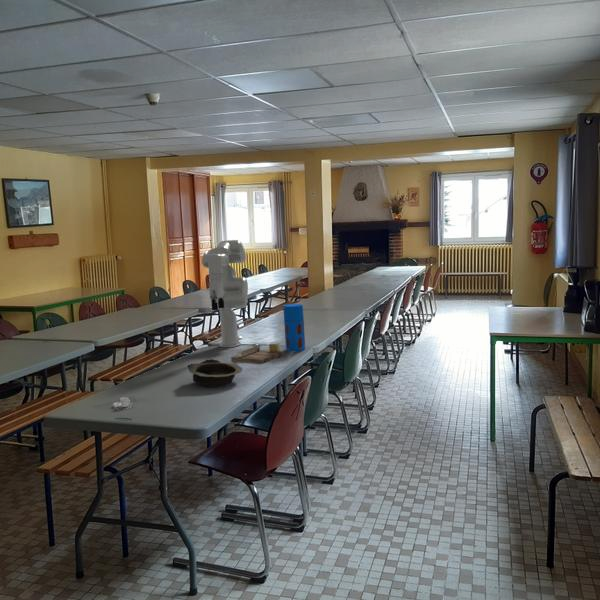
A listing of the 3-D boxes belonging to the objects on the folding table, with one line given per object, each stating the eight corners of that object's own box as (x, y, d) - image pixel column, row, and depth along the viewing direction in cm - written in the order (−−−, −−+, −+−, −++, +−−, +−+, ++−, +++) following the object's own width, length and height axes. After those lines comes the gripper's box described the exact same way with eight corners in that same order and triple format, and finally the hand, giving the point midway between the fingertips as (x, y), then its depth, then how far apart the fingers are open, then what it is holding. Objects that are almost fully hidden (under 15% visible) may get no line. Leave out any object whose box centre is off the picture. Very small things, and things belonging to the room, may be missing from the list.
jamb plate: (253, 352, 327) (253, 349, 327) (283, 355, 317) (283, 351, 317) (231, 360, 310) (231, 357, 310) (263, 363, 300) (262, 359, 300)
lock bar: (255, 349, 324) (255, 343, 323) (260, 350, 322) (260, 343, 321) (236, 356, 309) (236, 349, 308) (242, 357, 307) (241, 350, 307)
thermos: (306, 347, 334) (303, 303, 331) (304, 351, 324) (301, 306, 321) (287, 347, 336) (284, 304, 332) (284, 351, 325) (282, 306, 322)
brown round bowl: (182, 380, 275) (182, 360, 274) (234, 376, 284) (234, 357, 283) (192, 392, 252) (192, 371, 251) (249, 388, 261) (249, 367, 260)
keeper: (271, 350, 321) (271, 343, 320) (279, 351, 318) (279, 343, 318) (269, 351, 319) (269, 344, 318) (277, 351, 316) (277, 344, 316)
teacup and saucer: (110, 408, 239) (109, 398, 239) (128, 403, 245) (127, 394, 244) (120, 412, 233) (119, 402, 232) (138, 407, 238) (137, 397, 238)
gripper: (215, 276, 326) (217, 307, 327) (203, 278, 309) (205, 311, 311) (228, 276, 324) (230, 307, 326) (217, 278, 307) (219, 310, 309)
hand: (218, 309), depth 318 cm, fingers open, 9 cm apart
